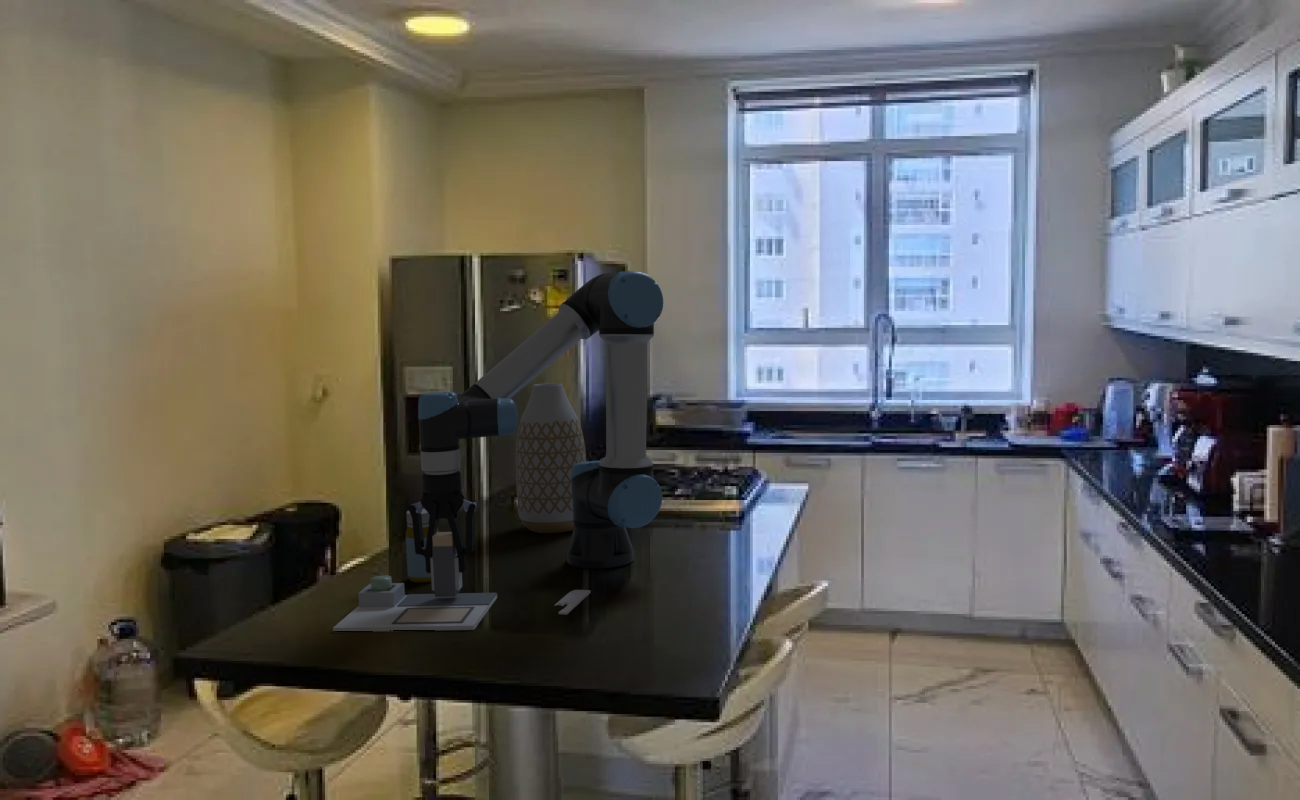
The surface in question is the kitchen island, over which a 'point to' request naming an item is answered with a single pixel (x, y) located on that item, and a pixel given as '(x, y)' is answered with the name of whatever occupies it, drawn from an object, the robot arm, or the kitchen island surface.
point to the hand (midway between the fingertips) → (447, 588)
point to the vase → (547, 460)
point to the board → (415, 611)
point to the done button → (381, 583)
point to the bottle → (414, 561)
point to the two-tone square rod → (444, 564)
